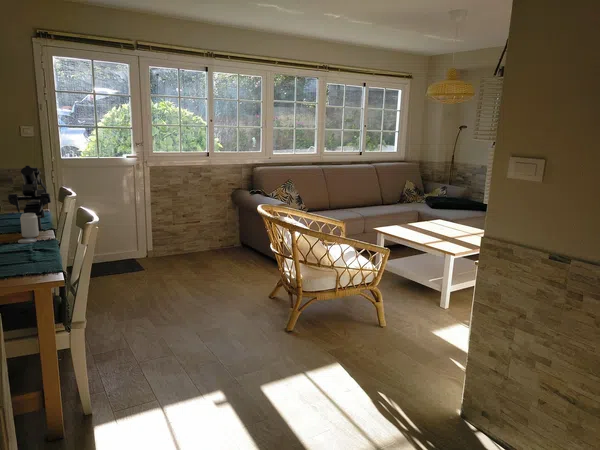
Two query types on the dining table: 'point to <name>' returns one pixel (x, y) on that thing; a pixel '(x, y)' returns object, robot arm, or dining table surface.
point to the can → (29, 225)
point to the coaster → (27, 240)
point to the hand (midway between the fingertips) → (29, 211)
